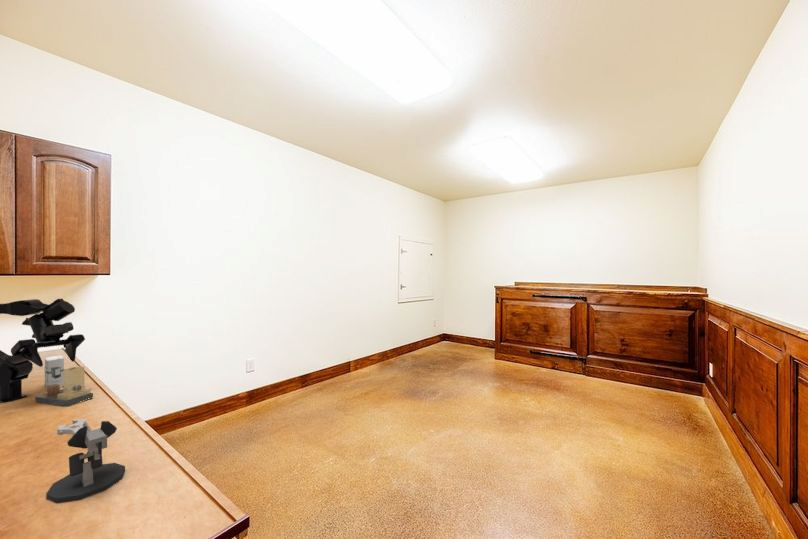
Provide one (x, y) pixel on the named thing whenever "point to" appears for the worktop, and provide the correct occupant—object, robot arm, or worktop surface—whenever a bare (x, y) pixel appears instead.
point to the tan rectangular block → (73, 383)
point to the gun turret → (87, 466)
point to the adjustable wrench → (71, 427)
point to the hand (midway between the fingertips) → (58, 363)
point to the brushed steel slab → (52, 399)
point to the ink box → (54, 370)
